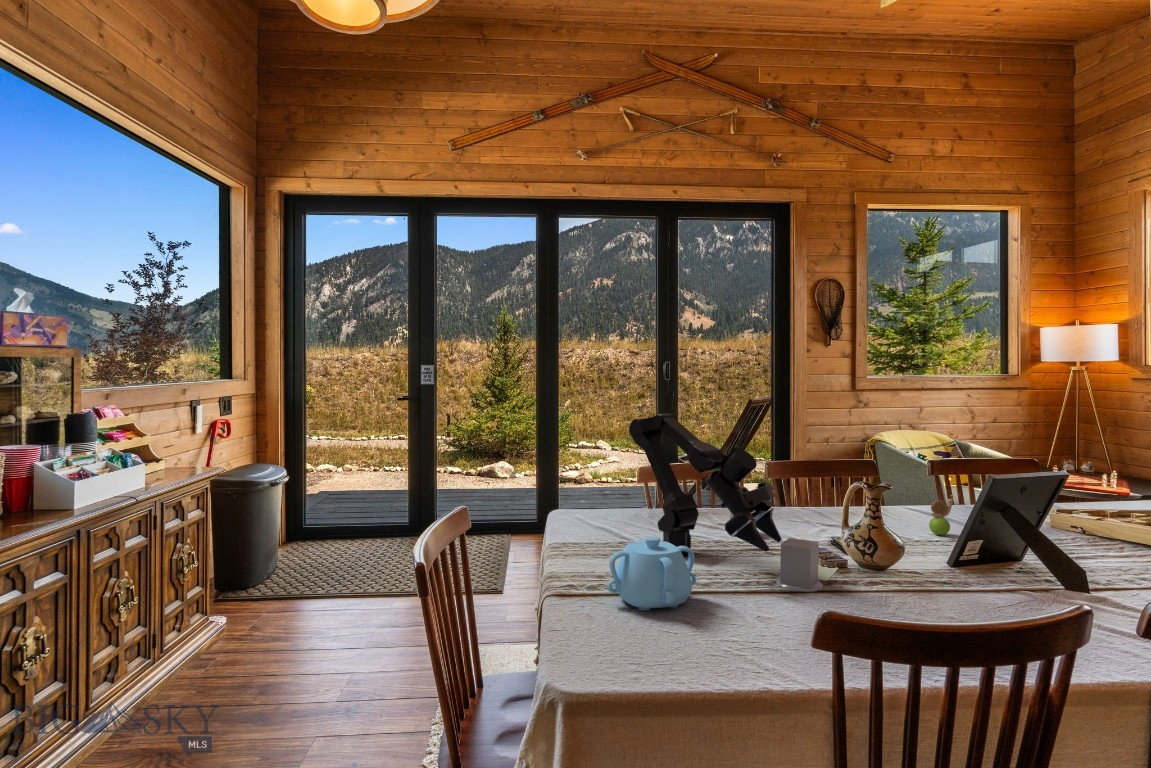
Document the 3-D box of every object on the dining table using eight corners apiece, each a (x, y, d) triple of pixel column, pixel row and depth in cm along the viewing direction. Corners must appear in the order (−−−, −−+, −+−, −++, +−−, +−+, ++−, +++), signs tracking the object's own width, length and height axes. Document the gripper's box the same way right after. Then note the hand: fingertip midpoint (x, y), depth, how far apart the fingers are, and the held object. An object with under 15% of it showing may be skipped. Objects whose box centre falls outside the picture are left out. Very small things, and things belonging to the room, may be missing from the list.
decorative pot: (668, 623, 124) (669, 554, 123) (599, 604, 133) (599, 539, 133) (703, 598, 137) (704, 536, 136) (638, 582, 146) (639, 524, 146)
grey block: (780, 583, 144) (780, 544, 144) (789, 575, 150) (789, 537, 150) (810, 589, 141) (810, 549, 140) (818, 581, 146) (818, 542, 146)
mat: (779, 573, 154) (779, 571, 154) (792, 561, 163) (792, 559, 163) (827, 582, 147) (827, 580, 147) (838, 569, 156) (838, 568, 156)
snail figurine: (957, 537, 186) (958, 496, 185) (935, 537, 186) (936, 496, 186) (946, 532, 191) (947, 493, 191) (925, 532, 191) (926, 492, 191)
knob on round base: (796, 595, 139) (796, 579, 139) (766, 580, 148) (767, 565, 148) (832, 589, 142) (832, 573, 142) (801, 575, 152) (801, 560, 152)
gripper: (739, 477, 143) (787, 534, 137) (766, 466, 158) (810, 517, 153) (705, 507, 148) (751, 563, 142) (734, 493, 163) (777, 544, 157)
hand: (774, 545), depth 148 cm, fingers open, 9 cm apart
